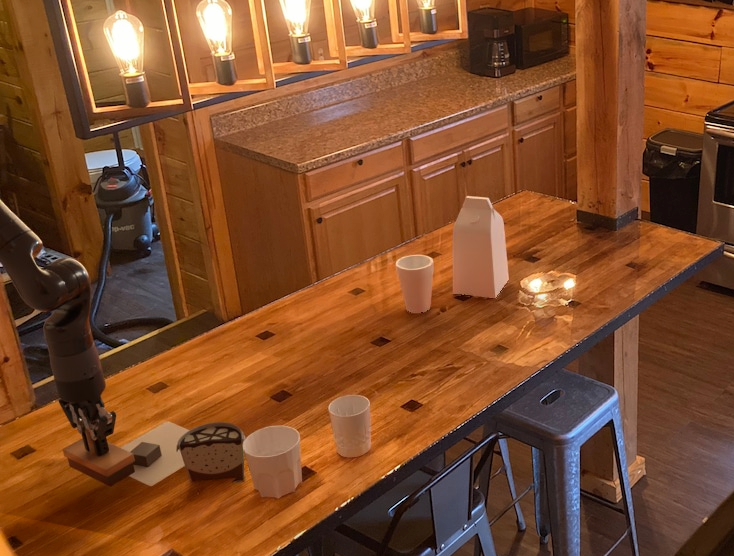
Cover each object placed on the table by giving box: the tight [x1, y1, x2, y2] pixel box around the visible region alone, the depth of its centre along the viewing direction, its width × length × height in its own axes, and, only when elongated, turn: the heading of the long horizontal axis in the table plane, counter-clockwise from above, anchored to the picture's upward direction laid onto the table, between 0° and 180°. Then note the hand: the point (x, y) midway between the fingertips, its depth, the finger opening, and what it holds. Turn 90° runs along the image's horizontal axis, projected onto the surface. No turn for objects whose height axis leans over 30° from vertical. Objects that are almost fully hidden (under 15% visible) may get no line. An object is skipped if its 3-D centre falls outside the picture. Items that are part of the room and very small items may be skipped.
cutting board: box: [119, 420, 191, 487], centre depth 186 cm, size 16×16×1 cm
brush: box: [62, 427, 135, 487], centre depth 174 cm, size 13×6×9 cm, turn 60°
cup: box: [242, 425, 303, 500], centre depth 176 cm, size 10×10×10 cm
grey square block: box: [130, 442, 162, 467], centre depth 183 cm, size 4×4×2 cm
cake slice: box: [176, 421, 247, 484], centre depth 179 cm, size 12×6×10 cm, turn 100°
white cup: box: [327, 394, 372, 459], centre depth 187 cm, size 8×8×10 cm
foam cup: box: [395, 254, 435, 314], centre depth 244 cm, size 10×9×13 cm
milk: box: [452, 195, 510, 299], centre depth 252 cm, size 12×12×26 cm
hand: (97, 450), depth 174 cm, fingers closed on brush, 2 cm apart
